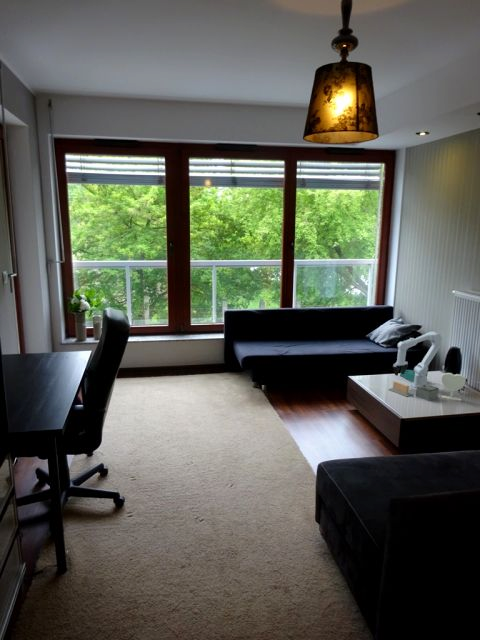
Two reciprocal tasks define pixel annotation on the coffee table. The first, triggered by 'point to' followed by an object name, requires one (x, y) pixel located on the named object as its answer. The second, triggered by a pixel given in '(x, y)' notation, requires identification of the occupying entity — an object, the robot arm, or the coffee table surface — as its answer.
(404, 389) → the tall tan wooden post
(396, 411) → the coffee table surface
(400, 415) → the coffee table surface
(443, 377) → the heart sculpture
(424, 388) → the dispenser
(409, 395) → the slate mat
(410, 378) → the teal l-shaped bracket
